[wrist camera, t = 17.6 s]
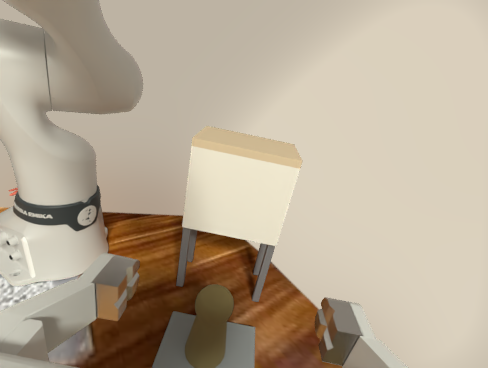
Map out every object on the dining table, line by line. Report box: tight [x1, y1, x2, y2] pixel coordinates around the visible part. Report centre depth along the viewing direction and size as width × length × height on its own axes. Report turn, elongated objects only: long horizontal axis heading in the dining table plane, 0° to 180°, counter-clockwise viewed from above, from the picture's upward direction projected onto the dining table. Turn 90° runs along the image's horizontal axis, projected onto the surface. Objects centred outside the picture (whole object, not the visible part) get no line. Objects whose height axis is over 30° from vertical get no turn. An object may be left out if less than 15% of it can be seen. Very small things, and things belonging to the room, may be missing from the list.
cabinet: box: [176, 126, 302, 302], centre depth 46 cm, size 10×16×29 cm, turn 86°
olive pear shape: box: [185, 284, 234, 368], centre depth 35 cm, size 6×6×11 cm
